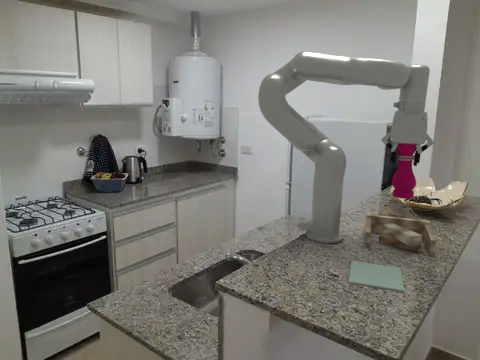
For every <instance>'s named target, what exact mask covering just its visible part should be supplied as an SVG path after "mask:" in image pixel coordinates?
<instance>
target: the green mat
mask: <svg viewBox="0 0 480 360" xmlns="http://www.w3.org/2000/svg"><path fill="white" fill-rule="evenodd" d="M350 261H351V262H350V269H349V270H350V271H349V275H348V276H349V278H348V284H352V285H358V286H364V287H365V286H366V287H370V288H375V289H376V288H377V289H382V290H389V291H394V292H399V293H400V292H401V293H405V287H404V282H403V276H402V275H403V274H402V271H401V267H397V266H391V265H390V266H389V265H383V264H376V263H370V262H369V263H368V262H362V261H357V260H356V261H355V260H350Z"/></svg>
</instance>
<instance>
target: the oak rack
mask: <svg viewBox="0 0 480 360" xmlns="http://www.w3.org/2000/svg"><path fill="white" fill-rule="evenodd" d="M430 222H431V221H430V220H425V219H418V220H416V219H407V218H398V217H389V216H380V215H379V214H378V215H376V214H369V213H367V214H366V219H365V229H364V247H365V248H370V247H371V237H372V236H371V235H372V233H375V234H381V233H382V227H383V224H388V223H393V224H396V225H398V226H401V227H403V228H405V229H408V230H410V231H413V232H415V233H418V234H420V235H422V242H423V243H424V245H425V246H424V247H425V249H426V251H427V255H428V256H432V257H435V255H436V254H435V253H436V248H437V238H436V236H435V233H434V231H433V230H432V227H431V225H430V224H431V223H430Z"/></svg>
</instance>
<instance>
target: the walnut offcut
mask: <svg viewBox="0 0 480 360" xmlns="http://www.w3.org/2000/svg"><path fill="white" fill-rule="evenodd" d="M378 244H380V245H381V244H382V245H386V246H391V247H395V248H400V249H405V250H409V251H414V252H417V253H418V252H420V250H421V247H422V244H421V245H416V246H410V245H408V244H405V243H403V242H401V241H399V240H396V239H394V238H392V237H390V236H387V235H385V234H383V233H379V236H378Z"/></svg>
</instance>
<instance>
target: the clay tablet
mask: <svg viewBox="0 0 480 360" xmlns="http://www.w3.org/2000/svg"><path fill="white" fill-rule="evenodd" d="M378 215H379V216H389V217H398V218H407V219H416V220H419V218H418V214H417V213H416V212H415V211H414V210H413V209H412V207H411V206H409V204H407V203H402V202H390V203H385V204H384V207H383V208H381V209H380V210H379V212H378Z"/></svg>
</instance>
